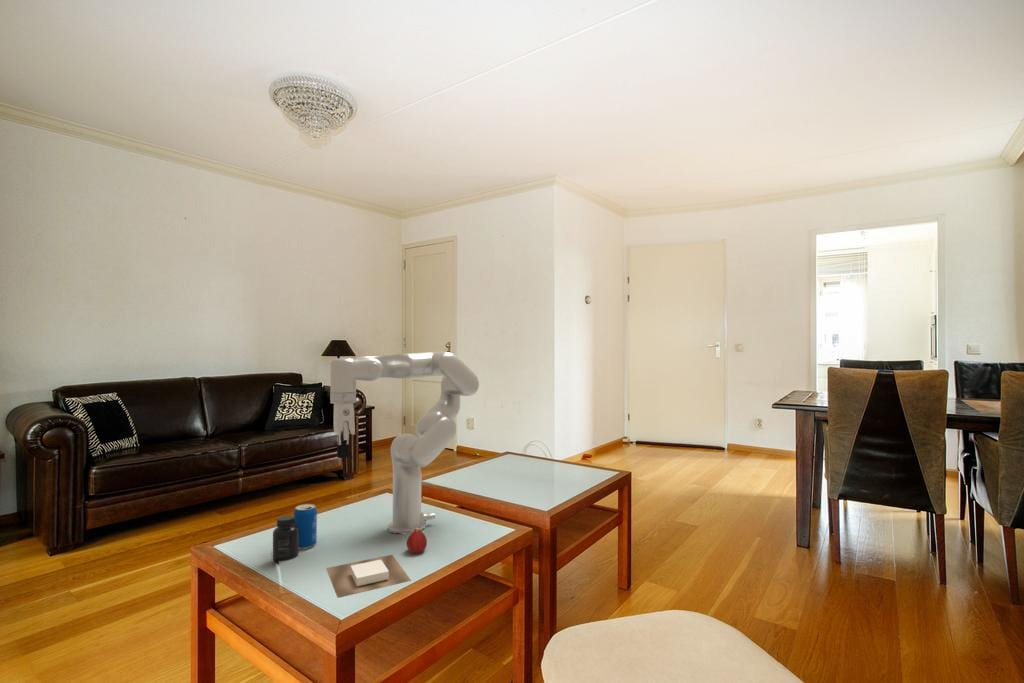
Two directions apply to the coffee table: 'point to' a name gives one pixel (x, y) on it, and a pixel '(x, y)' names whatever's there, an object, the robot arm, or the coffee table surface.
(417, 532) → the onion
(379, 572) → the tile
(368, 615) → the coffee table surface
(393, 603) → the coffee table surface
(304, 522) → the beverage can
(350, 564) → the board
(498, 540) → the coffee table surface
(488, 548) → the coffee table surface
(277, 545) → the supplement bottle
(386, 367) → the robot arm
